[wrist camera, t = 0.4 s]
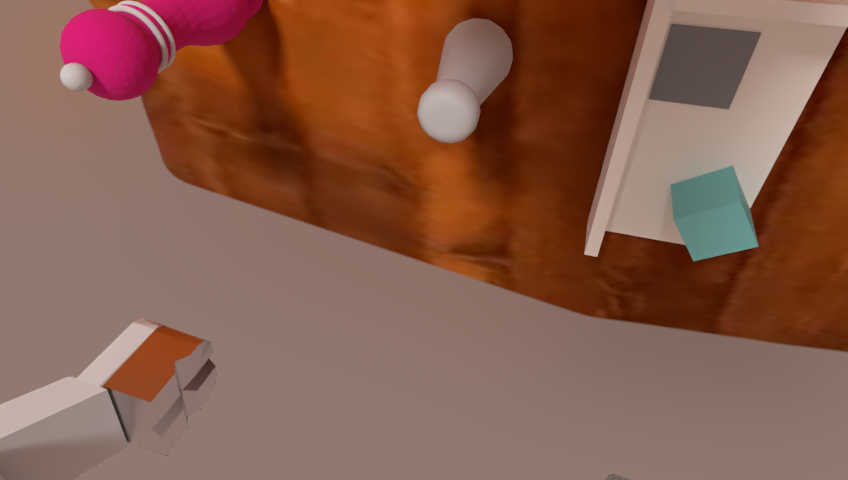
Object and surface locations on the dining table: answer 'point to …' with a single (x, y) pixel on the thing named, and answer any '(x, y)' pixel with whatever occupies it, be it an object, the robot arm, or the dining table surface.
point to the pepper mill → (142, 41)
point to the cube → (713, 214)
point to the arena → (708, 103)
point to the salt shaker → (465, 79)
